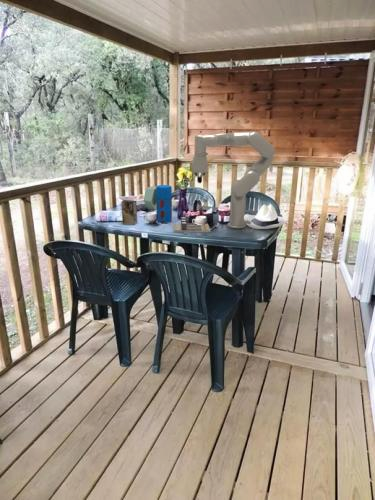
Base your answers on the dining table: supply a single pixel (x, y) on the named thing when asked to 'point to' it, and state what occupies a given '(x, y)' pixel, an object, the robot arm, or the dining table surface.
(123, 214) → the coffee box
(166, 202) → the blue tall box
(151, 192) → the planter
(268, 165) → the robot arm
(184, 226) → the breaker
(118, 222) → the dining table surface
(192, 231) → the panel
